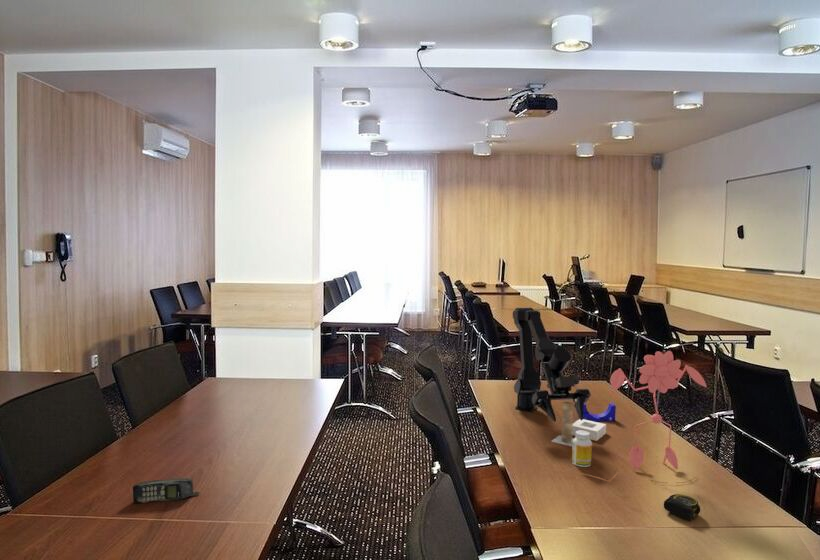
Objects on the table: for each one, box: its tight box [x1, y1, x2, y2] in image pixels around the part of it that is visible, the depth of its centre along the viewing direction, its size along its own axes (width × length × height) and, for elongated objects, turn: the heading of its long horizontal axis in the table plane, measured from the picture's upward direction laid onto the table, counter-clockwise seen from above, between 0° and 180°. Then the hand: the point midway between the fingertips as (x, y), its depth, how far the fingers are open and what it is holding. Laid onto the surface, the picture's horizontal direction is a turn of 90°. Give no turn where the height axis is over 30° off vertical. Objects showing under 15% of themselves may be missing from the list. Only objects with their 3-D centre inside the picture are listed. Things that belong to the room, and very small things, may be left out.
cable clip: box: [583, 402, 617, 423], centre depth 198 cm, size 12×4×6 cm, turn 86°
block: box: [572, 418, 607, 442], centre depth 183 cm, size 9×9×4 cm
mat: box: [550, 434, 574, 447], centre depth 176 cm, size 8×7×1 cm
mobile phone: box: [132, 477, 200, 504], centre depth 135 cm, size 5×3×15 cm
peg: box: [561, 401, 574, 443], centre depth 175 cm, size 3×3×12 cm
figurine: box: [609, 350, 707, 484], centre depth 152 cm, size 15×26×35 cm, turn 89°
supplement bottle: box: [571, 430, 593, 468], centre depth 158 cm, size 5×5×10 cm
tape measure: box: [663, 493, 701, 522], centre depth 130 cm, size 7×7×4 cm
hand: (568, 420), depth 175 cm, fingers open, 9 cm apart
